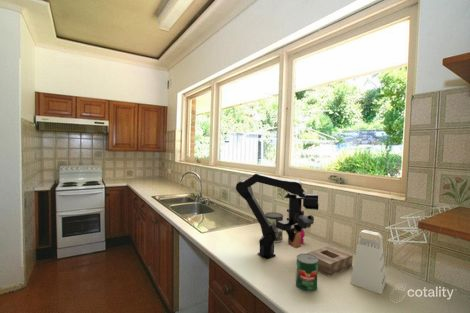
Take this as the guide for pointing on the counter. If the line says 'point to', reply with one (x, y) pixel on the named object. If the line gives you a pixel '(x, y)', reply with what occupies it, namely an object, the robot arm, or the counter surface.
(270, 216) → the coffee can
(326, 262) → the well block
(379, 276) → the grater
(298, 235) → the tall wooden block
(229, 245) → the counter surface
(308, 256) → the canned tomato
